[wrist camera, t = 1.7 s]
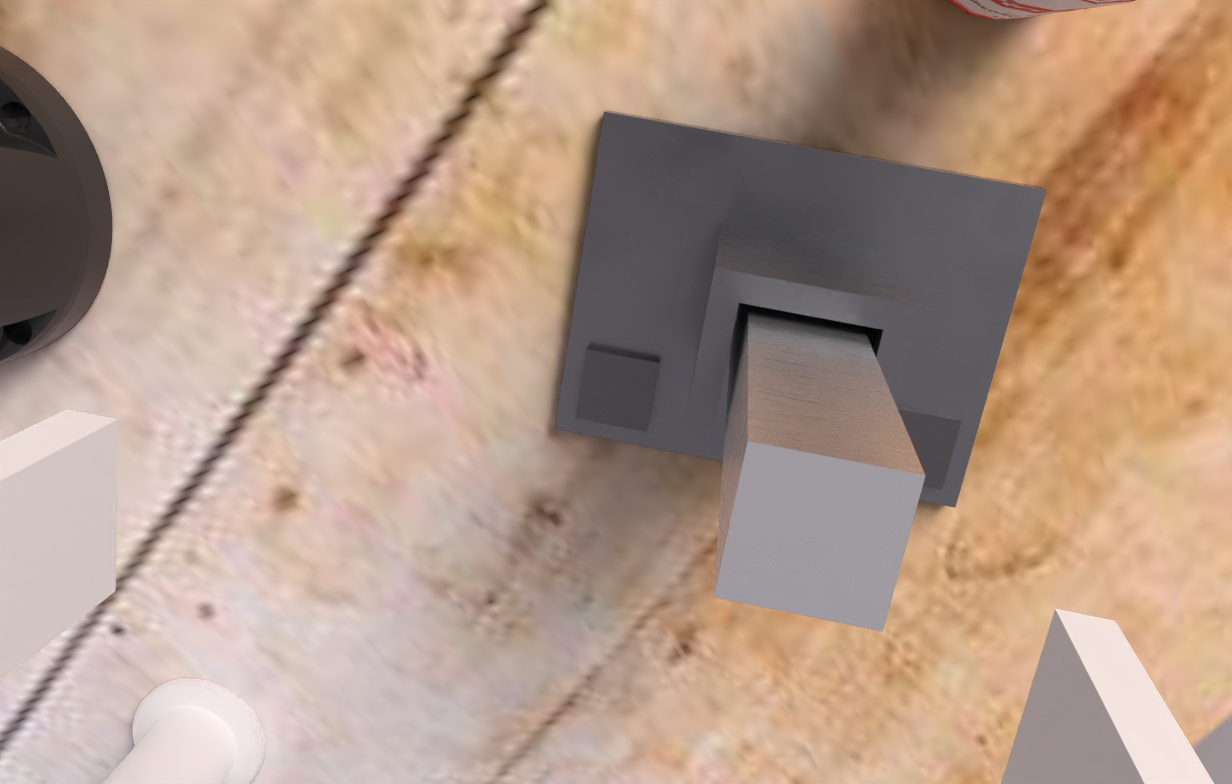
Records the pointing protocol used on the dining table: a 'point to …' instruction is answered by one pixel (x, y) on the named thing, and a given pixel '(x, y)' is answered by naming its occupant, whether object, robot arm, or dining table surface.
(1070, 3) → the beer can
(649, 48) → the dining table surface
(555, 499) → the dining table surface
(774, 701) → the dining table surface
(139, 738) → the candle
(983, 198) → the housing
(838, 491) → the column
